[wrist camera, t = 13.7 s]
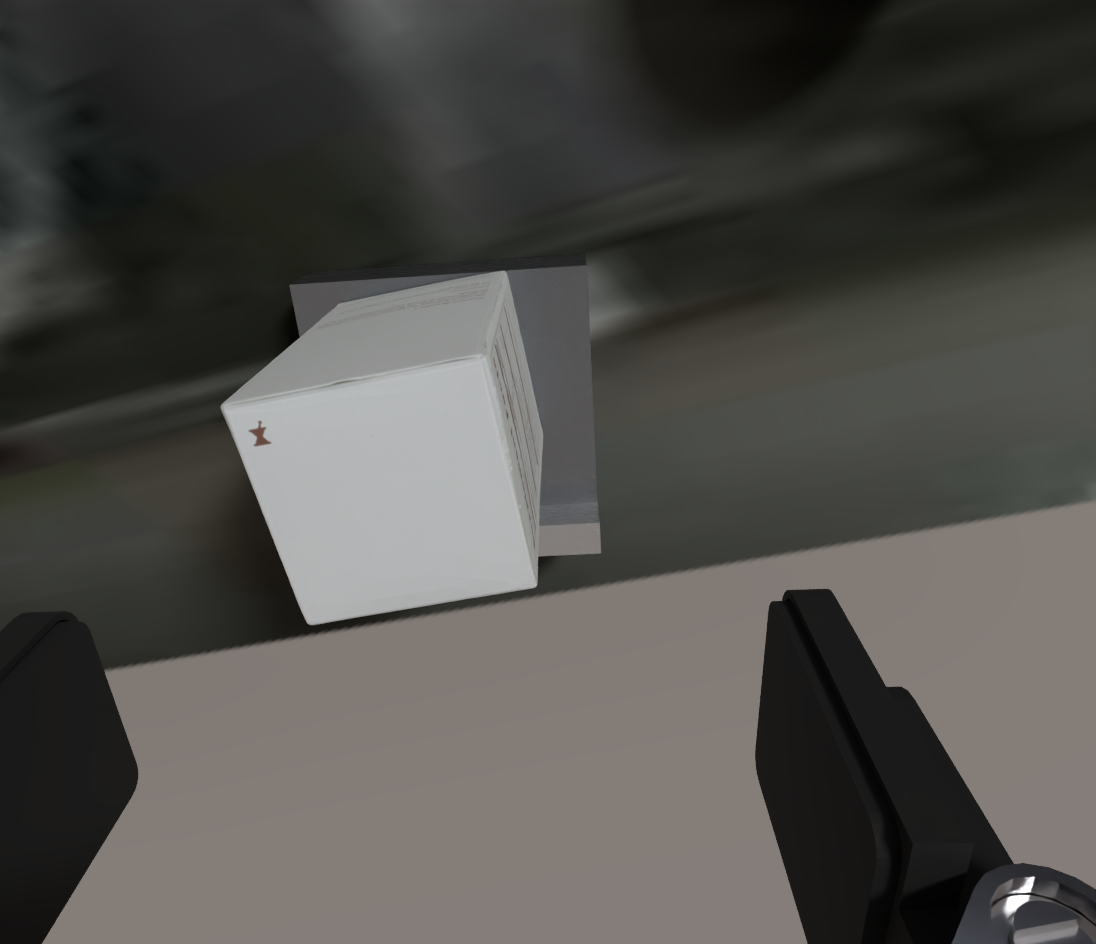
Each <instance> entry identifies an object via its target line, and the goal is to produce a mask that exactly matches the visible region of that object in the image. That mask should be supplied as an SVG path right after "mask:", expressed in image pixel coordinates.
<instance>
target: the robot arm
mask: <svg viewBox="0 0 1096 944" xmlns="http://www.w3.org/2000/svg"><path fill="white" fill-rule="evenodd" d="M755 759H756V770H757V775H758V779H759V783H760V786H761V790H762V793H763V796H764V800H765V803H766V806H767V809H768V813H769V816H770V820H771V823H772V826H773V830H774V833H775V836H776V840H777V843H778V846H779V849H780V853H781V856H782V859H783V863H784V866H785V869H786V873H787V876H788V880H789V883H790V886H791V889H792V893H793V896H794V899H795V903H796V906H797V910H798V913H799V916H800V919H801V923H802V926H803V930H804V933H805V936H806V940H807V943H808V944H1096V889H1094V888H1093V887H1091V886H1089V885H1088V884H1086V883H1084V882H1082V881H1081V880H1079V879H1077V878H1075V877H1073V876H1070V875H1068V874H1065V873H1062V872H1060V871H1057V870H1054V869H1052V868H1049V867H1043V866H1037V865H1031V864H1025V863H1021V864H1014V863H1013V862H1012V860H1011V858H1010V857H1009V855H1008V853H1007V852H1006V850H1005V848H1004V847H1003V845H1002V843H1001V842H1000V840H999V839H998V837H997V835H996V834H995V832H994V830H993V829H992V827H991V825H990V824H989V822H988V820H987V819H986V817H985V815H984V814H983V812H982V810H981V809H980V807H979V805H978V804H977V802H976V800H975V799H974V797H973V795H972V794H971V792H970V790H969V789H968V787H967V786H966V784H965V782H964V780H963V779H962V777H961V776H960V774H959V772H958V771H957V769H956V767H955V766H954V764H953V762H952V761H951V759H950V757H949V756H948V754H947V752H946V751H945V749H944V747H943V746H942V744H941V742H940V741H939V739H938V737H937V736H936V734H935V733H934V731H933V729H932V727H931V726H930V724H929V723H928V721H927V719H926V718H925V716H924V714H923V713H922V711H921V709H920V708H919V706H918V704H917V703H916V701H915V699H914V698H913V697H912V695H911V694H910V693H909V692H908V691H907V690H906V689H904V688H902V687H886V686H885V684H884V682H883V680H882V679H881V677H880V675H879V674H878V671H877V670H876V668H875V666H874V665H873V663H872V661H871V659H870V657H869V656H868V654H867V652H866V650H865V649H864V647H863V645H862V643H861V642H860V640H859V638H858V636H857V634H856V633H855V631H854V629H853V627H852V626H851V624H850V622H849V621H848V619H847V617H846V615H845V613H844V612H843V610H842V608H841V606H840V605H839V603H838V601H837V599H836V598H835V596H834V594H833V593H832V592H831V590H829V589H812V590H811V589H808V590H787V591H786V592H785V593H784V595H783V599H782V601H772V602H771V603H770V606H769V612H768V622H767V633H766V643H765V654H764V665H763V676H762V686H761V696H760V707H759V719H758V729H757V740H756V751H755ZM137 780H138V768H137V763H136V761H135V758H134V755H133V752H132V749H131V746H130V744H129V741H128V738H127V735H126V732H125V729H124V727H123V724H122V721H121V718H120V715H119V712H118V710H117V706H116V704H115V701H114V698H113V695H112V692H111V689H110V687H109V684H108V681H107V678H106V675H105V672H104V669H103V667H102V664H101V661H100V658H99V655H98V652H97V650H96V647H95V644H94V641H93V638H92V635H91V632H90V630H89V628H88V626H87V625H86V624H85V623H83V622H80V621H79V622H78V620H77V618H76V617H75V616H74V615H73V614H72V613H70V612H66V611H60V612H27V613H23V614H20V615H18V616H17V617H16V618H14V619H13V620H12V621H11V622H10V623H9V624H8V625H7V626H6V627H5V628H4V629H3V630H1V631H0V944H42V942H43V941H44V939H45V938H46V936H47V934H48V933H49V931H50V929H51V928H52V926H53V925H54V923H55V921H56V919H57V918H58V916H59V915H60V913H61V911H62V910H63V908H64V907H65V905H66V903H67V902H68V900H69V898H70V897H71V895H72V893H73V892H74V890H75V889H76V887H77V885H78V884H79V882H80V880H81V879H82V877H83V875H84V874H85V872H86V871H87V869H88V867H89V866H90V864H91V862H92V860H93V859H94V858H95V856H96V854H97V852H98V851H99V849H100V848H101V846H102V844H103V843H104V841H105V840H106V838H107V836H108V835H109V833H110V831H111V830H112V828H113V826H114V825H115V823H116V822H117V820H118V818H119V817H120V815H121V813H122V812H123V810H124V809H125V807H126V805H127V804H128V802H129V800H130V799H131V797H132V795H133V793H134V791H135V788H136V785H137Z"/></svg>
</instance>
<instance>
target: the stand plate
mask: <svg viewBox="0 0 1096 944" xmlns="http://www.w3.org/2000/svg"><path fill="white" fill-rule="evenodd" d="M497 271H506V273H507V276H508V279H509V284H510V288H511V292H512V296H513V301H514V305H515V310H516V314H517V319H518V323H519V328H520V332H521V337H522V341H523V346H524V350H525V355H526V359H527V364H528V368H529V373H530V377H531V382H532V387H533V391H534V396H535V401H536V405H537V410H538V414H539V419H540V423H541V427H542V430H543V451H542V466H541V468H542V470H541V486H540V509H539V546H538V556H556V555H576V554H596V553H601V543H600V522H599V512H598V502H597V480H596V458H595V436H594V415H593V393H592V371H591V350H590V328H589V306H588V284H587V265H586V259H585V254H574V255H559V256H544V257H529V258H514V259H499V260H484V261H469V262H454V263H439V264H423V265H408V266H393V267H378V268H363V269H348V270H333V271H318V272H310V273H308V274H307V275H305V276H303V277H302V278H300V279H298V280H297V281H295V282H293V283H292V284H290V290H291V295H292V300H293V306H294V311H295V316H296V321H297V326H298V331H299V336H300V337H301V336H302V335H303V334H304V333H306V332H307V331H308V330H309V329H310V328H312V327H313V326H314V325H315V324H316V323H317V322H319V321H320V320H321V319H322V318H323V317H324V316H325V315H326V314H328V313H329V312H330V311H331V310H333V309H334V308H335V307H336V306H337V305H338V304H339V303H344V302H349V301H354V300H358V299H363V298H368V297H372V296H377V295H382V294H387V293H391V292H396V291H401V290H406V289H411V288H415V287H420V286H425V285H430V284H434V283H439V282H444V281H449V280H454V279H459V278H464V277H469V276H474V275H480V274H486V273H492V272H497Z"/></svg>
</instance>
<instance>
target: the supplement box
mask: <svg viewBox="0 0 1096 944" xmlns="http://www.w3.org/2000/svg"><path fill="white" fill-rule="evenodd" d="M220 408H221V411H222V413H223V415H224V418H225V420H226V422H227V425H228V427H229V429H230V432H231V434H232V437H233V439H234V441H235V444H236V446H237V449H238V451H239V453H240V456H241V458H242V461H243V463H244V466H245V469H246V471H247V474H248V476H249V479H250V481H251V484H252V486H253V489H254V492H255V494H256V497H257V499H258V502H259V505H260V507H261V510H262V513H263V515H264V517H265V520H266V522H267V525H268V527H269V530H270V533H271V535H272V538H273V540H274V543H275V546H276V548H277V551H278V553H279V556H280V558H281V561H282V563H283V566H284V568H285V571H286V573H287V576H288V578H289V581H290V584H291V587H292V589H293V591H294V594H295V597H296V599H297V602H298V604H299V607H300V609H301V611H302V614H303V616H304V618H305V620H306V622H307V624H309V625H317V624H323V623H328V622H333V621H339V620H345V619H351V618H356V617H362V616H368V615H374V614H380V613H386V612H392V611H398V610H404V609H410V608H416V607H422V606H428V605H434V604H440V603H445V602H451V601H457V600H463V599H469V598H476V597H482V596H488V595H494V594H500V593H506V592H512V591H518V590H524V589H531V588H535V587H536V586H537V578H538V546H539V509H540V486H541V470H542V468H541V466H542V451H543V430H542V427H541V423H540V419H539V414H538V410H537V405H536V401H535V396H534V391H533V387H532V382H531V377H530V373H529V368H528V364H527V359H526V355H525V350H524V346H523V341H522V337H521V332H520V328H519V323H518V319H517V314H516V310H515V305H514V301H513V296H512V292H511V288H510V284H509V279H508V276H507V273H506V271H497V272H492V273H486V274H480V275H474V276H469V277H464V278H459V279H454V280H449V281H444V282H439V283H434V284H430V285H425V286H420V287H415V288H411V289H406V290H401V291H396V292H391V293H387V294H382V295H377V296H372V297H368V298H363V299H358V300H354V301H349V302H344V303H339V304H338V305H337V306H336V307H335V308H334V309H333V310H331V311H330V312H329V313H328V314H326V315H325V316H324V317H323V318H322V319H321V320H320V321H319V322H317V323H316V324H315V325H314V326H313V327H312V328H310V329H309V330H308V331H307V332H306V333H304V334H303V335H302V336H301V337H300V338H299V339H298V340H296V341H295V342H294V343H293V344H291V345H290V346H289V347H288V348H287V349H286V350H285V351H283V352H282V353H281V354H280V355H279V356H278V357H276V358H275V359H274V360H273V361H272V362H271V363H269V364H268V365H267V366H266V367H265V368H264V369H262V370H261V371H260V372H259V373H258V374H257V375H255V376H254V377H253V378H252V379H251V380H249V381H248V382H247V383H246V384H245V385H243V386H242V387H241V388H240V389H239V390H238V391H236V392H235V393H234V394H233V395H232V396H231V397H229V398H228V399H227V400H226V401H225V402H224V403H223V404H222V405H221V407H220Z"/></svg>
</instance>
